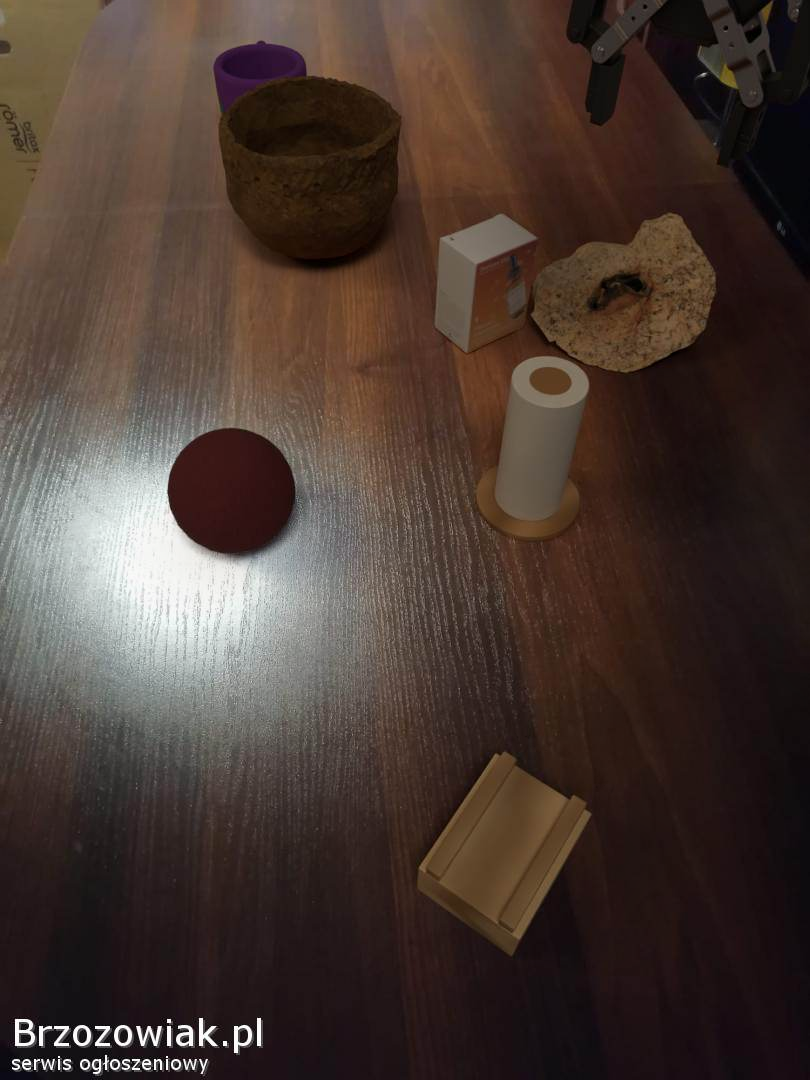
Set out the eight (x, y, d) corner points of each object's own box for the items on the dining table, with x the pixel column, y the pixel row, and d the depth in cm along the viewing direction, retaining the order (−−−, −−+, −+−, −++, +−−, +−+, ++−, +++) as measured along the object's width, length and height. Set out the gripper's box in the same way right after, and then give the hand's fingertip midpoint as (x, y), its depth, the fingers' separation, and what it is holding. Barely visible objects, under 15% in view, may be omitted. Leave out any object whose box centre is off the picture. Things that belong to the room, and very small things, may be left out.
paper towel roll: (603, 374, 65) (566, 418, 62) (573, 490, 75) (540, 532, 72) (535, 345, 67) (497, 386, 64) (515, 462, 77) (481, 501, 74)
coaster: (596, 492, 76) (598, 487, 75) (547, 558, 71) (548, 553, 71) (508, 449, 79) (509, 444, 78) (455, 510, 74) (456, 505, 74)
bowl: (400, 295, 93) (402, 162, 81) (226, 293, 93) (203, 159, 81) (399, 201, 105) (401, 73, 93) (245, 199, 104) (227, 70, 93)
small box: (466, 356, 87) (474, 265, 79) (432, 327, 90) (437, 237, 81) (526, 327, 90) (540, 237, 82) (491, 300, 93) (502, 210, 84)
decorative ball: (304, 487, 76) (294, 401, 68) (295, 579, 69) (283, 497, 62) (190, 486, 75) (167, 400, 68) (171, 578, 69) (143, 496, 61)
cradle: (580, 836, 57) (595, 807, 53) (511, 956, 52) (521, 935, 48) (490, 777, 59) (497, 746, 55) (416, 888, 55) (418, 862, 51)
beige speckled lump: (590, 423, 90) (591, 392, 83) (517, 322, 95) (512, 285, 88) (738, 332, 90) (752, 293, 82) (657, 235, 94) (664, 190, 87)
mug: (312, 162, 110) (306, 81, 102) (222, 165, 109) (210, 83, 102) (309, 99, 121) (303, 21, 113) (227, 101, 120) (216, 23, 112)
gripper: (579, -203, 42) (533, 131, 54) (876, -149, 37) (750, 203, 49) (645, -230, 45) (588, 87, 58) (921, -185, 41) (794, 150, 53)
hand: (662, 140), depth 54 cm, fingers open, 8 cm apart
